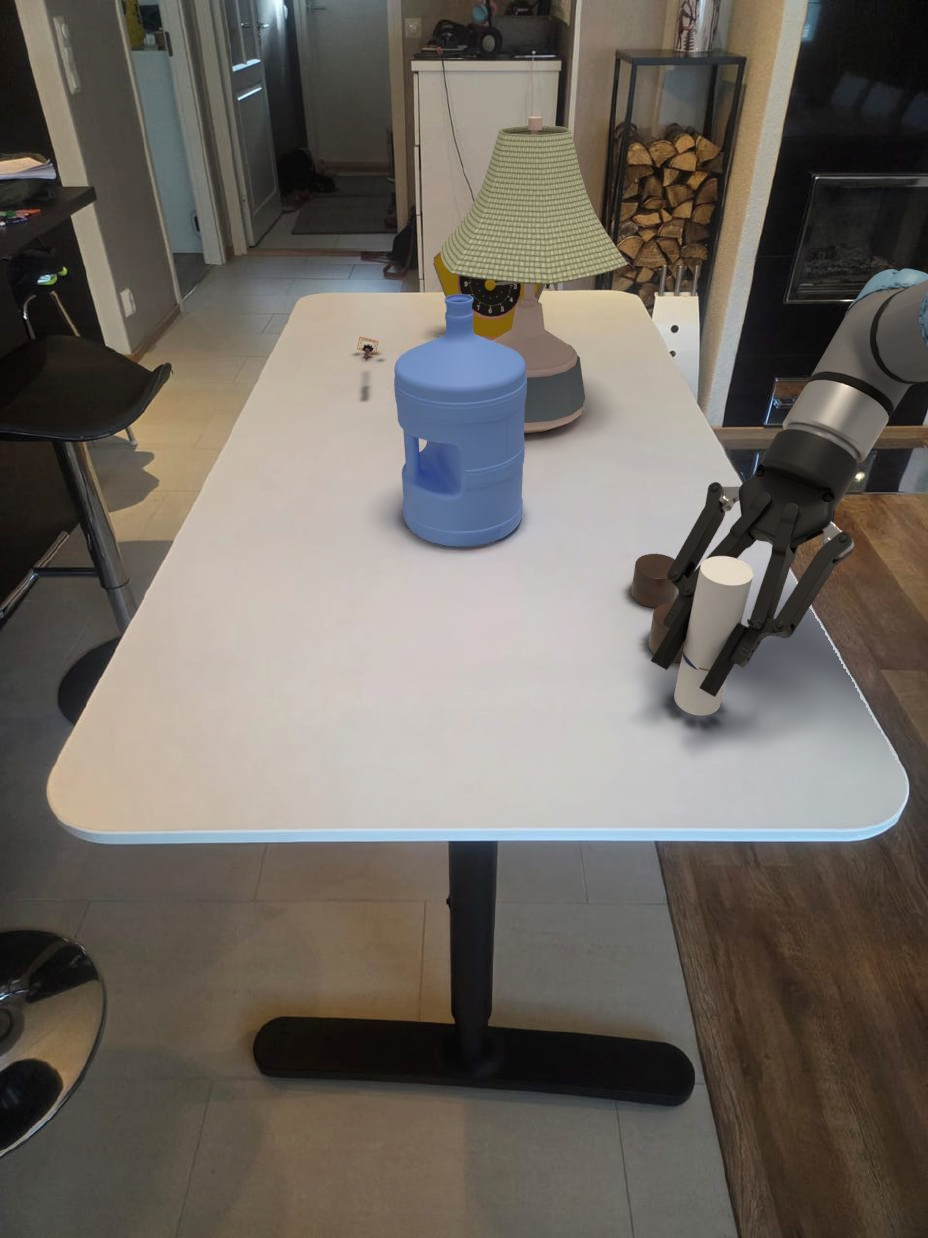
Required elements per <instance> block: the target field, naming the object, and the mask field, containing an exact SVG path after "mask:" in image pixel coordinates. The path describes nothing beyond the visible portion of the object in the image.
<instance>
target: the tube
mask: <svg viewBox="0 0 928 1238" xmlns="http://www.w3.org/2000/svg"><path fill="white" fill-rule="evenodd" d="M705 559H706V558H705ZM705 559H704V560H702V562H701V563H700V565H701V566H700V565H699V566H700V571H699V576H698V581H697V586H696V591H695V595H694V600H693V605H692V610H691V615H690V620H689V625H688V630H687V635H686V640H685V645H684V650H683V654H682V659H681V662H680V665H679V670H678V675H677V680H676V685H675V690H674V695H673V698H674V699H673V700H674V702H675V703H676V706H677V707H679V708H680V709H681V710H682V711H684V712H686V713H688V714H690V715H693V716H703V717H704V716H709V715H712V714H715V713H716V712H717V711H718V710H719V709H720V707H721V703H722V700H723V695H724V691H725V688H726V683H727V679H728V677H727V678H726V680H725V681H724V683H723V685H722V686H721V688H720V690H719V691H718V693H717V695H716V696H715V697H714V696H712V695H710V694H708V693H707V692H705V691H703V690H702V689H700V688H699V687H700V686H701V684H702V682H703V681H704V679H705V677H706V676H707V674H708V672H709V671H710V669H711V667H712V665H713V664H714V662H715V660H716V659H717V657H718V655H719V654H720V652H721V650H722V649H723V647H724V645H725V644H726V642H727V640H728V639H729V637H730V635H731V634H732V632H733V630H734V628H735V627H736V625H737V623H738V622H739V623H741V624H742V621H743V618H744V614H745V609H746V606H747V603H748V602H747V601H748V598H749V593H750V589H751V587H752V583H753V578H754V571H753V569H752V567H751V566H750V565H749V564H748V563H747V562H745V561H743V560H741V559H739V558H737V559H736V558H732V557H727V556H715V557H711V558H708V559H706V560H705Z"/></svg>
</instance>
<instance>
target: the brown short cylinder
mask: <svg viewBox="0 0 928 1238" xmlns="http://www.w3.org/2000/svg"><path fill="white" fill-rule="evenodd" d="M675 559H676V558H673V557H671V556H670V555H666V554H662V553H647V554H644V555H641V556H639V557H638V558H637V559H636V560H635V563H634V569H633V577H632V583H631V591H630V594H631V598H632V599H633V600H634V601H635V602H636V603H638V604H639V605H641V606H644V607H647V608H653V609H656V608H657V607H658V606H660V605H662V604H666V603H674V602H675V600H676V598H677V595H678V589H677V587H676V586H675V585H674V584H673V583H672V582H671V581H670V580H669V579H668V577H667V574H668V571H669V569H670V568H671V566H672V564H673V562H674V560H675Z"/></svg>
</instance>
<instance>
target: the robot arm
mask: <svg viewBox="0 0 928 1238" xmlns="http://www.w3.org/2000/svg"><path fill="white" fill-rule="evenodd" d="M927 382H928V273H926V272H924V271H921V270H916V269H912V268H902V269H900V270H897V269H895V268H891V269H886V270H882V271H880V272H878V273H876V274H875V275H873V276H872V277H871V278H870V279H869V280H868V281H867V283H865V285H864V287H863V288H862V289H861V291H860V293H859V294H858V296H857V297H856V298H855V299H854V300H853V301H852V302H851V304H850V305H849V306H848V308H847V311H846V312H845V313H844V316H843V319H842V321H841V323H840V325H839V326H838V328H837V330H836V332H835V333H834V335H833V337H832V339H831V340H830V342H829V344H828V346H827V348H826V349H825V351H824V352H823V354H822V356H821V358H820V360H819V361H818V363H817V365H816V367H815V368H814V370H813V371H812V374H811V376H810V377H809V379H808V380H807V382H806V384H805V386H804V387H803V389H802V390H801V392H800V394H799V395H798V397H797V399H796V400H795V402H794V403H793V405H792V406H791V408H790V410H789V412H788V414H787V415H786V417H785V419H784V420H783V422H782V428H783V430H780V431H779V432H777V433H776V434H775V436H774V438H773V439H772V441H771V443H770V444H769V446H768V448H767V450H766V451H765V453H764V454H763V456H762V458H761V459H760V461H759V463H758V464H757V467H756V470H755V471H754V473H753V475H752V476H750V477H749V478H748V479H746V480H745V481H744V482H742V484H741V485H740V486H723V485H722V484H721V483H720V482H717V481H713V482H711V483H710V484H709V486H708V488H707V494H706V497H705V503H704V504H705V505H704V507H703V509H702V510H701V512H700V514H699V516H698V518H697V519H696V521H695V523H694V525H693V526H692V527H691V530H690V532H689V534H688V536H687V537H686V539H685V541H684V542H683V544H682V546H681V548H680V549H679V551H678V553H677V555H676V557H675V558H674V559H675V560H674V562H673V564H672V566H671V568H670V569H669V571H668V574H667V577H668V579H669V580H670V581H671V582H672V583H673V584H674V585H675V586H676V587H677V596H676V599H675V601H674V602H673V603H674V604H673V605H672V607H671V609H670V610H669V612H668V614H667V615H666V617H665V619H664V624H663V625H664V626H665V627H667V628H668V629H669V631H668V632H667V634H666V636H665V638H664V639H663V641H662V643H661V644H660V646H659V648H658V649H657V651H656V653H655V654H653V656H652V658H651V659H650V661H651V662H652V663H654V664H655V665H657V666H659V667H660V668H662V669H664V670H665V671H668V670H669V669H670V667H671V665H672V663H673V662H672V661H673V660H674V658H675V656H676V655H677V653H678V651H679V650H680V648H681V646H682V645H683V643H684V641H685V639H686V635H687V630H688V625H689V620H690V615H691V610H692V605H693V600H694V595H695V591H696V586H697V581H698V576H699V571H700V566H701V564H700V562H701V560H702V559H703V557H704V555H705V553H706V551H707V550H708V549H709V546H710V544H711V542H712V541H713V539H714V537H715V536H716V534H717V532H718V530H719V528H720V527H721V525H722V523H723V521H724V519H725V516H726V513H727V512H730V511H731V510H732V508H733V507H734V505H735V504H736V503H738V502H739V508H740V517H739V518H737V520H736V521H735V522H734V523H733V524H732V525H731V527H730V529H729V532H728V533H727V534H726V535H725V537H724V538H723V539H722V540H721V541H720V542H719V543H718V544H717V546H716V547H715V548H713V550H712V551H711V553H709V554H708V556H707V557H706V558H705V559H704V560H706V559H708V558H711V557H715V556H727V557H732V558H736V559H739V557H740V556H741V555H742V554H743V553H744V552H745V550H747V549H749V548H751V547H752V546H753V545H754V544H755V543H756V541H758V542H765V543H769V544H770V545H771V555H770V557H769V560H768V563H767V566H766V569H765V572H764V575H763V578H762V582H761V583H760V588H759V590H758V593H757V597H756V600H755V603H754V606H753V608H752V611H751V615H750V618H747V619H746V622H747V625H748V626H746V625H744V624H743V623H742V622H741V623H739V622H738V623H737V625H736V627H735V628H734V630H733V632H732V634H731V635H730V637H729V639H728V640H727V642H726V644H725V645H724V647H723V649H722V650H721V652H720V654H719V655H718V657H717V659H716V660H715V662H714V664H713V665H712V667H711V669H710V671H709V672H708V674H707V676H706V677H705V679H704V681H703V682H702V684H701V686H700V687H699V688H700V689H702V690H703V691H705V692H707V693H708V694H710V695H712V696H714V697H715V696H716V695H717V693H718V691H719V690H720V688H721V686H722V685H723V683H724V681H725V680H726V678H727V679H728V676H729V675H730V673H731V671H732V670H733V668H734V666H735V665H736V666H738V667H740V668H742V669H743V668H745V667H746V666H747V665H749V663H750V661H751V660H752V658H753V656H754V655H755V653H756V651H757V650H758V649H759V646H760V644H761V643H762V641H763V639H764V640H765V638H767V637H777V638H781V639H784V640H785V639H789V638H791V637H792V636H793V635H794V633H795V631H796V630H797V628H798V627H799V625H800V623H801V621H802V620H803V618H804V617H805V615H806V614H807V612H808V610H809V609H810V607H811V606H812V604H813V602H814V601H815V599H816V598H817V596H818V595H819V593H820V592H821V590H822V589H823V587H824V585H825V583H826V582H827V580H828V579H829V577H830V575H831V574H832V573H833V571H834V569H835V567H836V566H838V565H839V564H841V562H843V561H844V560H845V559H846V558H848V557H849V556H850V555H851V554H852V553H853V552H854V551H855V548H856V546H855V543H854V540H853V537H852V535H851V533H849V532H847V531H843V530H841V529H840V528H839V527H838V526H837V525H836V524H835V515H836V509H837V507H838V506H839V504H840V503H841V501H842V500H843V498H844V496H845V494H846V493H847V491H848V490H849V488H850V486H851V484H853V483H852V482H853V481H854V479H855V478H856V477H857V476H856V475H857V474H858V472H859V470H860V469H859V464H860V463H863V462H865V460H866V458H867V457H868V455H869V454H870V452H871V450H872V449H873V447H874V446H875V444H876V443H877V441H878V439H879V437H880V435H881V434H882V432H883V431H884V429H885V428H886V426H887V424H888V422H889V421H890V419H891V418H892V415H893V414H894V412H895V410H896V409H897V407H898V405H899V404H900V402H901V400H902V399H903V397H904V396H905V394H906V393H907V391H908V389H909V388H910V387H911V386H914V385H918V384H923V383H927ZM821 535H823V537H822V538H821V540H820V542H819V546H820V549H819V550H818V551H817V552H816V553H815V554H814V555H815V556H814V557H813V559H812V560H811V561H810V563H809V565H808V566H807V568H806V569H805V571H804V573H803V574H802V575H801V577H800V578H799V580H798V582H797V584H796V585H795V586H794V588H793V590H792V592H791V593H790V595H789V596H788V598H787V600H786V601H785V603H784V605H782V608H781V609H780V611H779V613H778V614H777V616H776V612H777V609H778V607H779V602H780V601H781V596H782V594H783V592H784V591H783V590H784V588H785V585H786V581H787V578H788V575H789V572H790V569H791V566H792V565H793V563H794V561H795V559H796V555H797V553H798V551H799V546H801V545H803V544H805V543H806V542H809V541H811V540H813V539H815V538H817V537H819V536H821ZM775 616H776V617H775ZM726 681H727V680H726Z"/></svg>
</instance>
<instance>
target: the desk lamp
mask: <svg viewBox="0 0 928 1238" xmlns="http://www.w3.org/2000/svg"><path fill="white" fill-rule="evenodd" d="M578 159H579V158H578V155H577V151H576V146H575V142H574V137H573V133H572V130H571V129H569V128H567V127H564V126H557V125H543V117H542V116H528V119H527V125H518V126H509V127H503V128H500V129H499V131H498V134H497V137H496V140H495V143H494V146H493V151H492V154H491V156H490V160H489V163H488V167H487V171H486V173H485V176H484V178H483V181H482V184H481V187H480V190H479V192H478V194H477V195H476V198H475V199H474V201H473V203H472V205H471V207H470V209H469V210H468V211H467V213H466V214H465V215H464V217H463V219H462V220H461V221H460V223H459V224H458V225H457V226H456V228H455V229H454V230H453V232H452V233H451V234H450V235H449V237H448V238H446V240H445V241H444V242H443V244H442V245H441V246H440V251H441V258H442V261H443V263H444V265H445V267H446V268H447V269H448V270H449V271H450V272H451V273H452V274H454V275H459V276H465V277H471V278H477V279H485V280H493V281H502V282H512V283H522V284H524V297H523V298H521V302H518V303H517V304H516V307H515V313H514V319H513V324H512V329H511V330H509V331H508V332H506V333H504V334H503V335H501V336H499V337H498V338H496V339H494V340H493V341H494V342H496V343H499V344H502V345H504V346H507V347H509V348H511V349H513V350H515V351H516V352H518V353H519V354H520V355H521V356H522V357H523V359H524V360H525V363H526V376H527V394H526V400H525V418H524V434H533V433H543V432H546V431H550V430H553V429H556V428H559V427H562V426H565V425H567V424H569V423H571V422H573V421H574V420H576V419H577V418H578V417H579V416H581V415H582V413H583V410H584V405H585V400H586V393H585V385H584V379H583V371H582V364H581V363H582V362H581V357H580V356H579V355H578V352H577V350H576V349H575V348H574V347H573V346H572V345H571V344H569V343H567V342H565V341H564V340H562V339H560V338H559V337H558V336H556V335H554V334H552V333H551V332H549V331H548V330H547V329H546V327H545V319H544V311H543V310H544V309H543V304H542V302H540V301H538V302H537V298H535V284H545V285H555V284H563V283H568V282H574V281H578V280H582V279H586V278H591V277H596V276H599V275H602V274H607V273H610V272H613V271H615V270H618V269H621V268H625V267H626V266H627V265H628V262H627V261H626V259H625V258H624V257H623V255H622V253H621V251H620V250H619V249H618V247H617V246H616V245H615V243H614V242H613V240H612V239H611V237H610V236H609V234H608V232H607V231H606V229H605V228H604V226H603V224H602V222H601V221H600V219H599V217H598V216H597V213H596V212H595V209H594V207H593V205H592V202H591V200H590V197H589V195H588V192H587V189H586V186H585V182H584V179H583V176H582V171H581V168H580V164H579V160H578Z"/></svg>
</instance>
